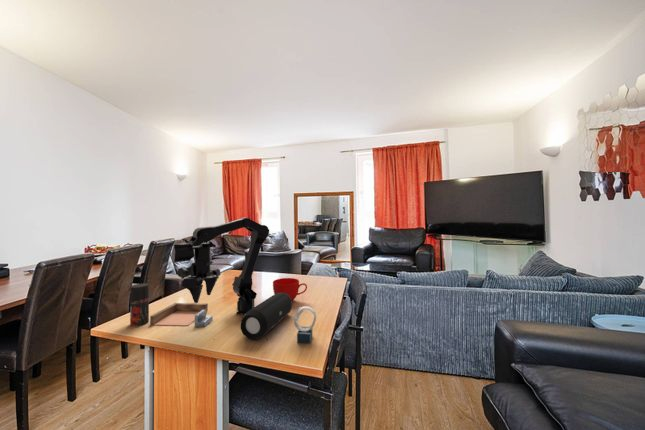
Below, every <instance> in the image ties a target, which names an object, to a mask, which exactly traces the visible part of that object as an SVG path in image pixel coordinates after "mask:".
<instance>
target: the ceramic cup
mask: <svg viewBox="0 0 645 430" xmlns="http://www.w3.org/2000/svg"><path fill="white" fill-rule="evenodd" d="M301 286H305V288H304V290H302V291H300V292H299V289H300V287H301ZM307 289H308V285H307V283H305V282H302V283H300V280H299V279H298V278H293V277H284V278H282V277H281V278H277V279H275V280H273V281H272V290H273V295H274V294H276V293H286V294H288V295H289V296H290V298H291V300H292V303H293V301H294V300H295V299H297V296H299V295H302V294H304V293H305V292H306V291H307Z"/></svg>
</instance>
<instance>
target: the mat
mask: <svg viewBox="0 0 645 430" xmlns="http://www.w3.org/2000/svg"><path fill="white" fill-rule="evenodd" d="M197 313H199V312H186V311H176V312H174V313H173V314H171V315H169V316H167V317H166V318H164V319H162V320H161V321H159V322H157V323H156V324H154V325H153V326H166V327H167V326H168V327H169V326H171V327H172V326H175V327H176V326H177V327H188V326H190V325H191V324H192V323H195V315H196V314H197Z"/></svg>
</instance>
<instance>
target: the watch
mask: <svg viewBox="0 0 645 430" xmlns="http://www.w3.org/2000/svg"><path fill="white" fill-rule="evenodd" d="M304 310H306V311H310V312H311V313H312V314H313V321H312V323H311V324H310V325H309V326H301V325H299V324H298V320H299V319H300V317H301V315H302V313H303V312H304ZM292 321H293V325H294V327H295V328H296V330H298V331H297V333H296V343H297V344H304V345H305V344H306V345H307V344H308V345H310V344H311V343H312V342H311V341H312V338H313V328H314V326H315V323H316V321H317V313H316V311H315V309H314V308H312V307H311V306H308V305H307V306H306V305H303V306H299V308H298V309H297V312H296V313H295V315H294V317H293V319H292Z"/></svg>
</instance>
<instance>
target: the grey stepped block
mask: <svg viewBox="0 0 645 430" xmlns="http://www.w3.org/2000/svg"><path fill="white" fill-rule="evenodd" d="M212 322H213V315H207V312H206V310H202V311H200V312H199V313H197V314H196V315H195V321H194V327H195V328H196V327H197V328H205V327H207V326H208V325H209V324H211V323H212Z"/></svg>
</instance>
